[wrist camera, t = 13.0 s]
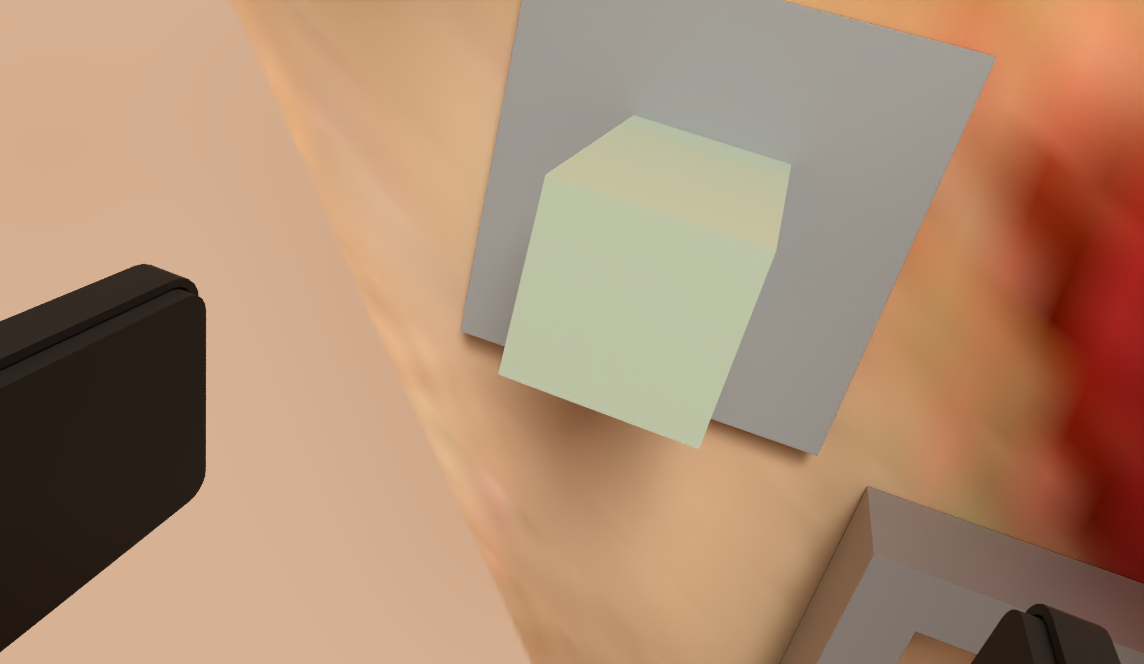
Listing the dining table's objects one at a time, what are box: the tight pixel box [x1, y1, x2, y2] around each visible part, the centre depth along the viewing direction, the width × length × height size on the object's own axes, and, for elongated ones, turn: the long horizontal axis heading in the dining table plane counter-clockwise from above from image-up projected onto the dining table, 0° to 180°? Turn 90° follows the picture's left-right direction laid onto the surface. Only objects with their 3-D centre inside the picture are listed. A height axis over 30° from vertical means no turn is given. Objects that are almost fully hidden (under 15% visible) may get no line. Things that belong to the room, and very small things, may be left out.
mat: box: [461, 0, 996, 456], centre depth 23 cm, size 12×12×1 cm
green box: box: [498, 115, 791, 449], centre depth 19 cm, size 4×4×8 cm
